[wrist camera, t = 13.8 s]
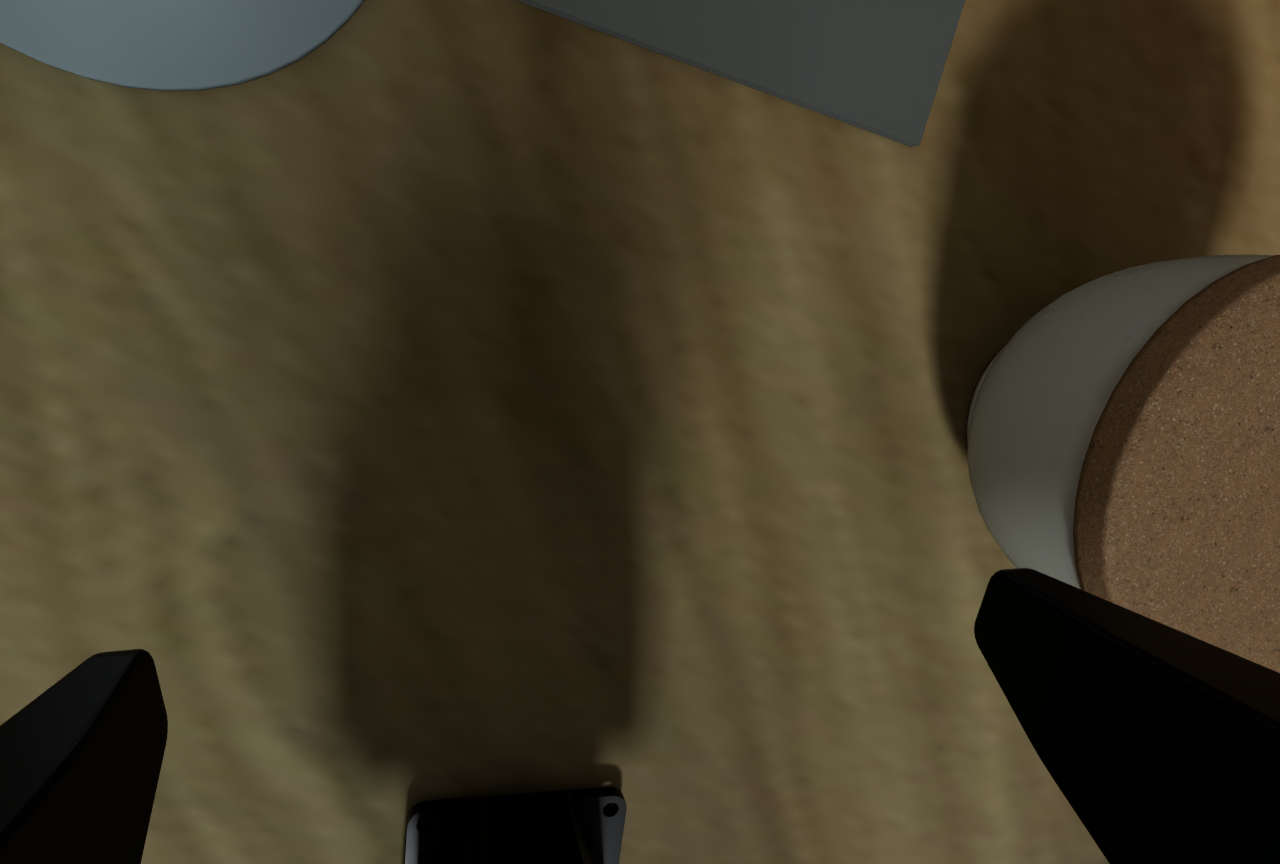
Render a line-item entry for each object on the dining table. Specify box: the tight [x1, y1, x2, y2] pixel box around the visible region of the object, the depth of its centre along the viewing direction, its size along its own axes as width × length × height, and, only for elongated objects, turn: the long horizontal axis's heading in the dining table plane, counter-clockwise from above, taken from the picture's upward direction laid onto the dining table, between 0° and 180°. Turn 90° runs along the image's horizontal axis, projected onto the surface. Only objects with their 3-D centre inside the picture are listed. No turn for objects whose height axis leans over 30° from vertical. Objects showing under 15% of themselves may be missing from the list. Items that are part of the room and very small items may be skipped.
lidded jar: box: [967, 255, 1280, 673], centre depth 21 cm, size 11×11×9 cm
